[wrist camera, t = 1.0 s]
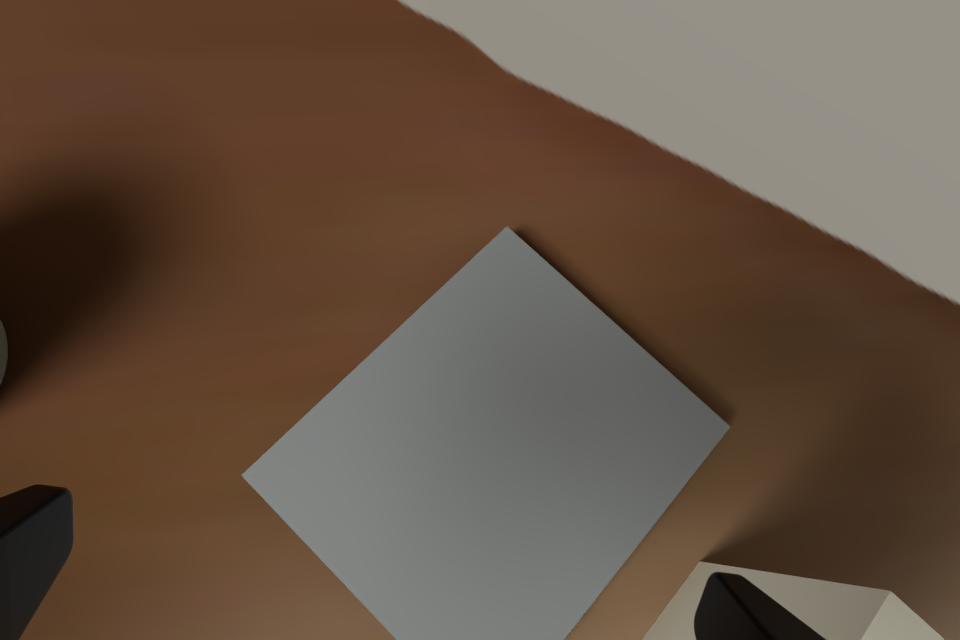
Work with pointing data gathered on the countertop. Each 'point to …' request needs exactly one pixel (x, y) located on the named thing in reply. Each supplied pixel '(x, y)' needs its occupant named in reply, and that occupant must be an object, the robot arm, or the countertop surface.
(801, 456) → the countertop surface
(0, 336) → the pale green rounded cylinder
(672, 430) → the grey flat plate
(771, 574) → the cream brick
